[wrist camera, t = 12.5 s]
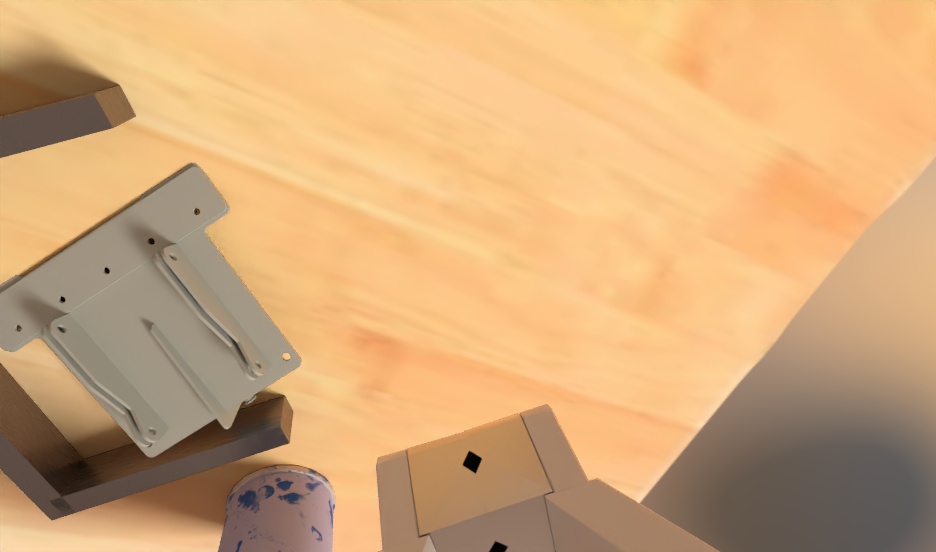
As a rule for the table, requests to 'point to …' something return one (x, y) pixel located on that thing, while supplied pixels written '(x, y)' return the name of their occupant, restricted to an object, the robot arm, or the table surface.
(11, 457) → the steel u-shaped frame
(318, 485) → the aerosol can
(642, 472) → the table surface
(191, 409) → the metal bracket
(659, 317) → the table surface
